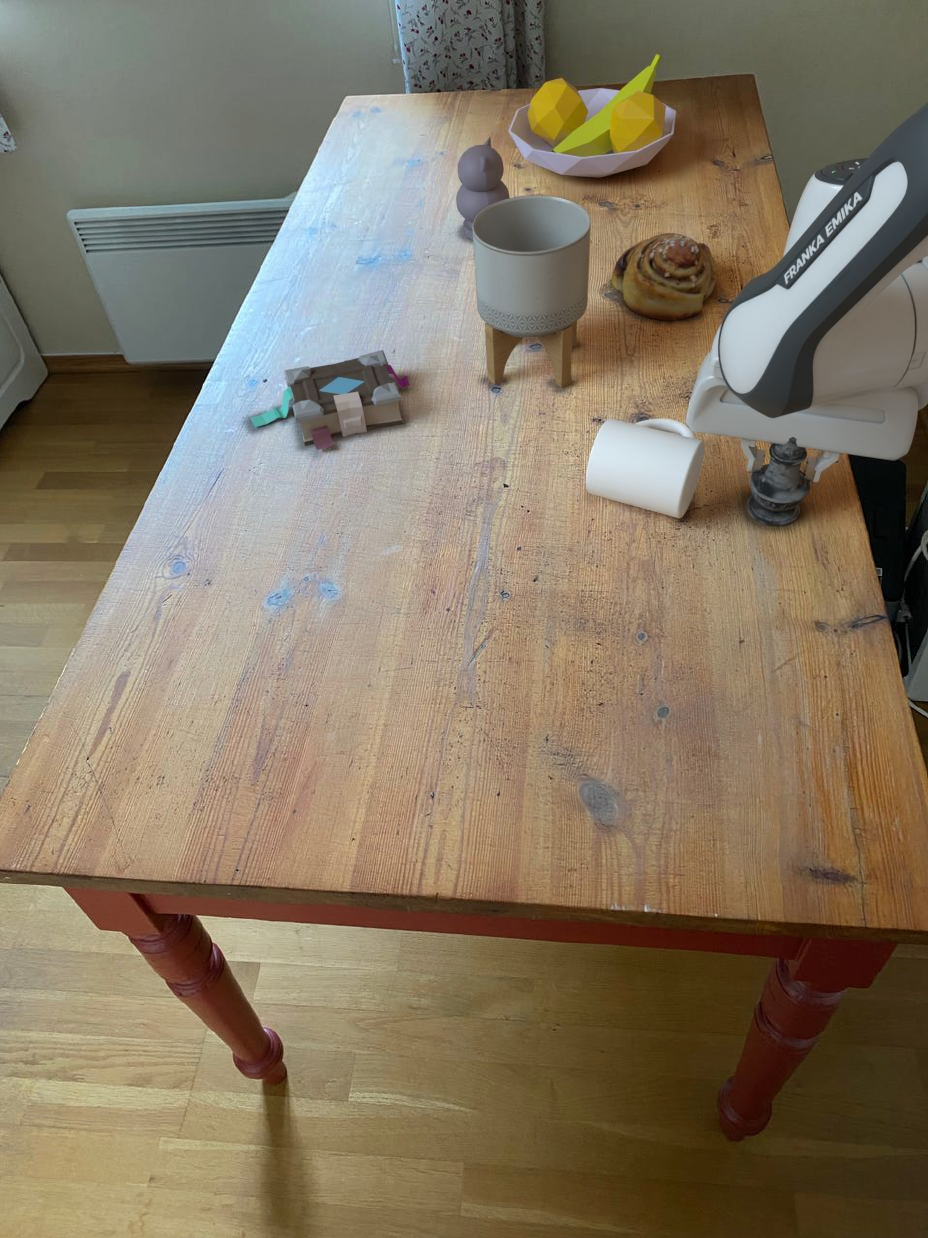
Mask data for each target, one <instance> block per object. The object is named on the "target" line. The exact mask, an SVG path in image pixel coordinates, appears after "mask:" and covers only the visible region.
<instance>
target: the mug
mask: <svg viewBox="0 0 928 1238" xmlns="http://www.w3.org/2000/svg"><path fill="white" fill-rule="evenodd" d="M705 452H706V444H705V442H704V440H702V439H698V436H697V434H696V432H694V431H692V430H691V429H690V428H689V426H688V425H687V424H686V423H683V422H681V421H678V420H676V419H673V418H651V419H645V420H641V421H637V422H635V423H632V422H628V421H624V420H619V419H615V418H608V419H607V420H605V421H604V422H603V424H602V425H601V426H600V429H599V430H598V432H597V434H596V437H595V439H594V441H593V443H592V447H591V450H590V454H589V457H588V462H587V466H586V474H585V488H586V492H587V493H588V494H590V495H593V496H596V497H600V498H603V499H607V500H611V501H615V502H617V503H622V504H624V505H628V506H633V507H637V508H640V509H643V510H647V511H651V512H653V513H658V514H662V515H665V516H668V517H673V518H676V519H681V518H683V517H684V516H685V514H686V513H687V512H688V511H687V510H688V509H689V507H690V505H691V502H692V499H693V497H694V495H695V492H696V489H697V485H698V483H699V480H700V476H701V472H702V469H703V465H704V460H705Z"/></svg>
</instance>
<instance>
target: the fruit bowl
mask: <svg viewBox="0 0 928 1238" xmlns="http://www.w3.org/2000/svg"><path fill="white" fill-rule="evenodd" d="M662 58H663V57H662V56H661V55H660V54H658V53H656V54H655V56H654V57H653V59H652V62H651V64H650V65H647V66H646V67H645V68H643V69H642V71H641V72H639V73H638V74H637V75H636V76H635V77H633V78H632V79H631V80H630V81H629V82H627V83H626V84H625V85H624V86H623V87H622V88H621V89H620V90H618V89H612V88H604V87H599V88H588V89H582V90H581V89H580V90H577V87H576V86H574V85H573V84H571V83H570V82H569V81H567V80H565V79H564V78H563V77H559V78H555V79H552V80H548V81H545V83H544V84H543V85H542V86H540V88H539V90H538V91H537V92H536V93H535V95H534V96H533V97H532V98H531V100H530V103H529V104H526V105H524V106H522V107H520V108H518V109H516V111H515V114H514V116H513V118H512V121H511V123H510V126H509V129H508V133H509V135H510V137H511V139H512V140H513V142H514V144H515V145H516V147H517V149H518V150H519V152H520V154H521V155H522V157H523V159H524V160H525V161H527V162H530V163H532V164H534V165H536V166H539V167H542V168H544V169H546V170H549V171H550V172H553V173H556V174H558V175H561V176H573V177H585V178H586V177H587V178H597V179H601V178H604V177H607V176H611V175H615V174H618V173H621V172H625V171H629V170H632V169H635V168H639V167H642V166H646V165H648V164H649V163H650V162H651V161H652V160H653V159H654V158H655V156H657V155H658V153H659V152H660V151H661V150H662V149H663V148H664V147H665V146H666V145H667V144H668V143H669V141H670V140H671V138H672V137H673V135H674V132H675V123H676V117H677V116H676V115H677V111H676V110H675V109H673V107H670V106H669V105H666V104H665V103H663V102H662V101H661V100H660V99H658V98H657V97H656V96H655V95H654V94H652V93H651V92H652V89H653V86H654V83H655V80H656V75H657V71H656V70H657V68H658V66H659V64H660V62H661V60H662Z"/></svg>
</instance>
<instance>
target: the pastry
mask: <svg viewBox="0 0 928 1238" xmlns="http://www.w3.org/2000/svg"><path fill="white" fill-rule="evenodd" d="M717 275H718V267H717V264H716V261H715V259H714V257H713V255H712V252H711V249H710V247H709V246H708V245H707V244H706V243H703V242H697V241H696V240H694V239H693V238H691V237H689V236H687V235H684V234H681V233H675V232H665V233H660V234H657V235H653V236H651V237H650V238H646V239H642V240H641V241H639V242H637V243H635V244H633V245H632V246H630V247H629V248H627V249H626V250H625V251H623V253H622V254H621V255H620V257H619V258H618V259H617V261H616V263H615V265H614V268H613V271H612V276H611V277H612V279H611V286H612V287H613V288H614V289H615V290H617V291H619V292H621V293H622V294H623V300H624V302H625V304H626V305H627V307H628V308H629V309H630V310H631V311H632V312H634V313H636V314H637V315H640V316H643V317H646V318H650V319H655V320H659V321H676V320H683V319H688V318H690V317H696V316H698V315H699V314H701V312H702V311H703V307H704V306H703V303H704V302H705V301H706V300H707V299H708V298H709V296H711V294H712V293H713V290H714V288H715V286H716V285H715V284H716V280H717V277H718V276H717Z"/></svg>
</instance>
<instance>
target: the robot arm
mask: <svg viewBox="0 0 928 1238" xmlns="http://www.w3.org/2000/svg"><path fill="white" fill-rule="evenodd" d="M690 395H691V396H690V399H689V403H688V407H687V411H686V416H685V424H686V425H687V426H688V427H689V428H690V429H691V430H692V431H693V432H694V433H699V434H707V435H714V436H721V437H727V438H735V439H740V448H741V449H742V451H743V453H744V455H745V457H746V459H747V460H748V461H747V467H746V470H745V471H746V473H751V474H752V473H759V474H761V473H762V468H763V465H765V461H766V460H765V459H766V454H767V450H765V449H758V446H757V442H763V443H770V444H774V443H776V444H786V443H787V442H788V441H789V438H791V437H794V438H796V439H797V440H796V443H797V446H798V447H803V448H805V449H811V450H817V451H822V452H821V453H820V454H819V455H818V456H816V457H813V456H807V458H806V460H805V461H806V462H805V465H804V468H803V472H804V473H803V480H806V481H810V483H811V482H812V483H819V481H820V479H821V478H820V477H821V476H822V472H824V471H826V469H828V468H829V467H830V466H832V465H833V464H834V463H836V462H837V461H838V460H839V458H840V456H841V454H844V455H852V456H860V457H866V458H872V459H873V458H874V459H880V460H885V461H886V460H887V461H897V460H899V459H901V458H902V457H904V456H906V455H907V454H908V453H909V451H910V449H911V446H912V443H913V439H914V435H915V432H916V427H917V421H918V413H919V411H921V410H922V409H924V408H925V407H926V406H927V405H928V101H927V102H925V103H924V104H923V105H921V106H920V108H918V109H917V110H916V111H915V112H913V113H912V114H911V115H910V116H909V117H908V118H906V120H904V121H903V122H902V123H901V124H899V125H897V127H896V128H895V129H894V130H893V131H892V132H890V134H889V135H887V137H885V138H884V140H883V141H881V143H880V144H879V145H878V146H877V147H876V148H875V149H874V151H873V152H871V154H869V156H868V157H863V158H854V159H848V160H843V161H838V162H834V163H830V164H827V165H824V167H822V168H820V169H818V170H816V171H815V172H814V173H813V174H812V175H811V177H810V178H809V180H808V181H807V183H806V185H805V187H804V189H803V191H802V194H801V196H800V199H799V201H798V204H797V206H796V209H795V211H794V215H793V218H792V221H791V224H790V229H789V231H788V235H787V239H786V242H785V247H784V250H783V255H782V258H781V259H780V260H779V261H778V262H777V263H776V264H775V265H774V266H772V268H771V269H769V270H768V271H766V272H764V273H762V274H759V275H757V276H755V277H753V278H751V279H750V280H749V281H747V283H746V284H745V285H744V287H743V288H741V290H740V291H739V292H738V293H737V295H736V296H735V298H734V299H733V301H732V302H731V304H730V306H729V308H728V309H727V311H726V313H725V315H724V317H723V319H722V321H721V323H720V325H719V327H718V329H717V331H716V333H715V335H714V338H713V342H712V345H711V348H710V351H709V352H708V353H707V354H706V355H705V357H704V359H703V360H702V363H701V365H700V368H699V370H698V373H697V376H696V378H695V382H694V385H693V388H692V392H691V394H690Z"/></svg>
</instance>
